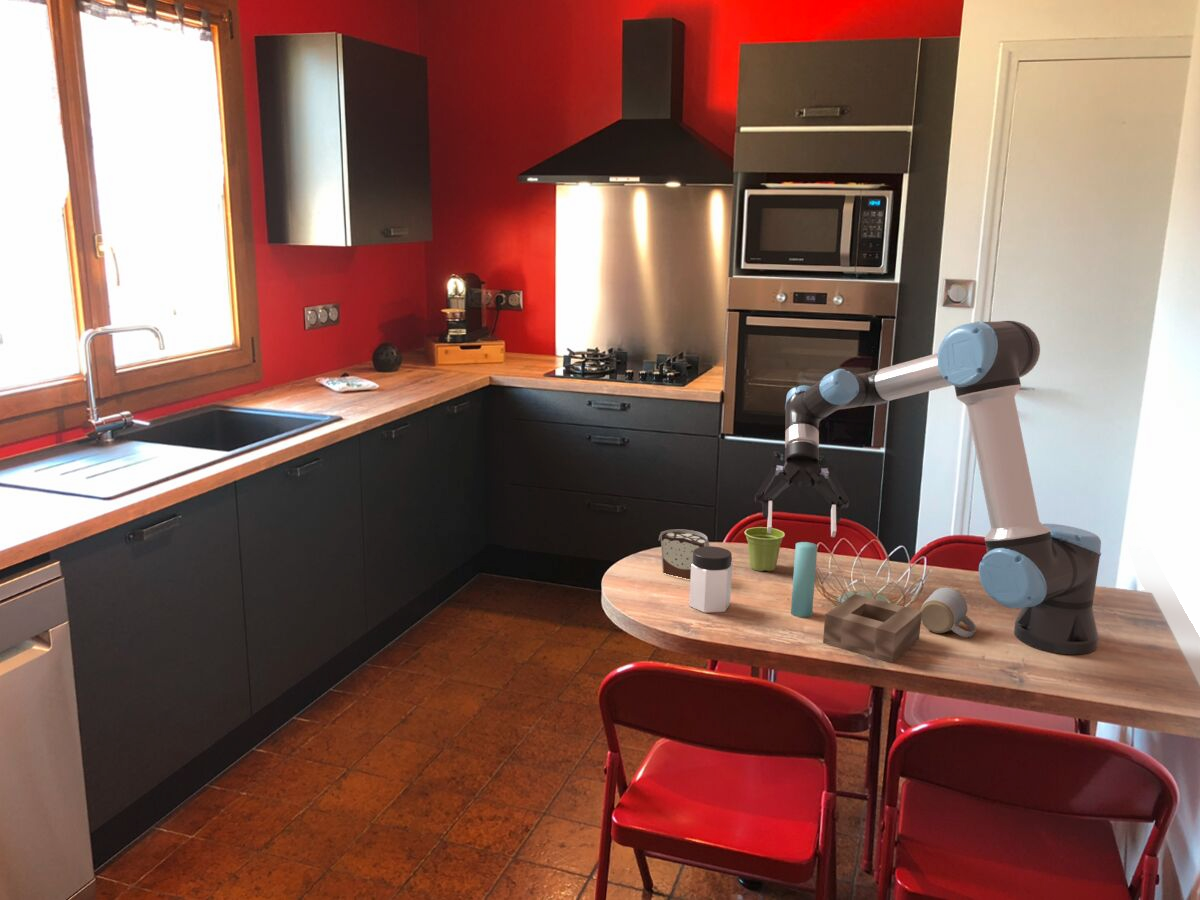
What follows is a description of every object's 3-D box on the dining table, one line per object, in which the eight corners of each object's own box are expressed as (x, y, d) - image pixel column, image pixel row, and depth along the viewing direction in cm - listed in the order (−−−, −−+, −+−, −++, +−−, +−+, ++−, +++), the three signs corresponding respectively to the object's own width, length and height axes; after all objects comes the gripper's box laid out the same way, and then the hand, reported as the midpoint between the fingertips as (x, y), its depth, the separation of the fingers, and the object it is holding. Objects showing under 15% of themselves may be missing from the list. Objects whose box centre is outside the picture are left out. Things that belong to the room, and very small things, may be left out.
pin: (815, 613, 208) (820, 545, 204) (806, 619, 204) (811, 550, 201) (796, 607, 210) (801, 540, 207) (787, 613, 207) (791, 545, 204)
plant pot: (734, 567, 234) (736, 532, 232) (755, 558, 241) (757, 524, 239) (769, 577, 228) (771, 541, 226) (789, 567, 235) (792, 532, 233)
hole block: (919, 639, 196) (921, 611, 194) (892, 662, 185) (895, 633, 183) (852, 621, 204) (854, 593, 202) (822, 642, 193) (825, 614, 192)
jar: (738, 607, 210) (741, 554, 207) (711, 616, 204) (714, 561, 202) (708, 595, 216) (710, 543, 214) (681, 603, 211) (683, 550, 209)
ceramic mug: (915, 629, 200) (919, 594, 199) (928, 617, 207) (932, 583, 205) (968, 644, 194) (973, 607, 193) (980, 631, 201) (985, 595, 199)
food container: (716, 576, 228) (719, 535, 226) (705, 584, 223) (707, 541, 221) (669, 565, 234) (671, 525, 232) (657, 573, 229) (658, 531, 227)
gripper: (855, 460, 225) (858, 543, 214) (745, 454, 228) (742, 536, 217) (860, 442, 219) (863, 527, 208) (747, 436, 222) (743, 520, 211)
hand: (801, 532), depth 212 cm, fingers open, 13 cm apart
